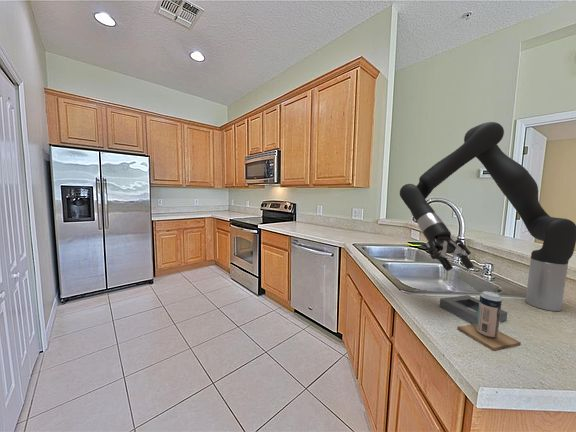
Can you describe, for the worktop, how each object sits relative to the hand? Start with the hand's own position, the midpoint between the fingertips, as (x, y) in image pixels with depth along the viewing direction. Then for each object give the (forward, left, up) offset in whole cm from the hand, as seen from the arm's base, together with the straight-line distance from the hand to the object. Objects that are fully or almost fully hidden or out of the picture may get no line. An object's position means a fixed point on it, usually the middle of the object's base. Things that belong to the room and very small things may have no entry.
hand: (460, 268), depth 75 cm
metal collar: (-9, -2, -17) cm, 19 cm away
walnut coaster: (0, +10, -17) cm, 20 cm away
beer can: (0, +9, -16) cm, 19 cm away
